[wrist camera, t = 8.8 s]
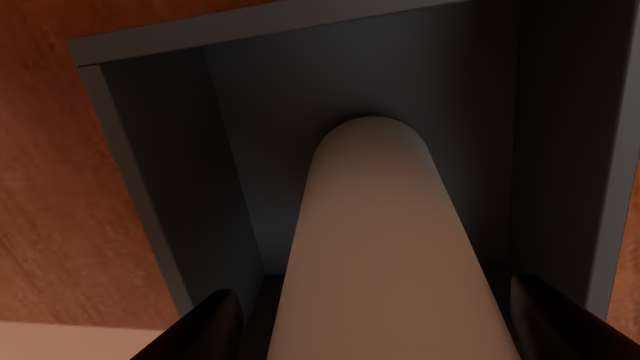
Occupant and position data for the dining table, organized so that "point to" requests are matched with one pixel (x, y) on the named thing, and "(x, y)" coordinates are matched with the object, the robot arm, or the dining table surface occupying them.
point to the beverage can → (383, 259)
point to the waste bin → (384, 101)
